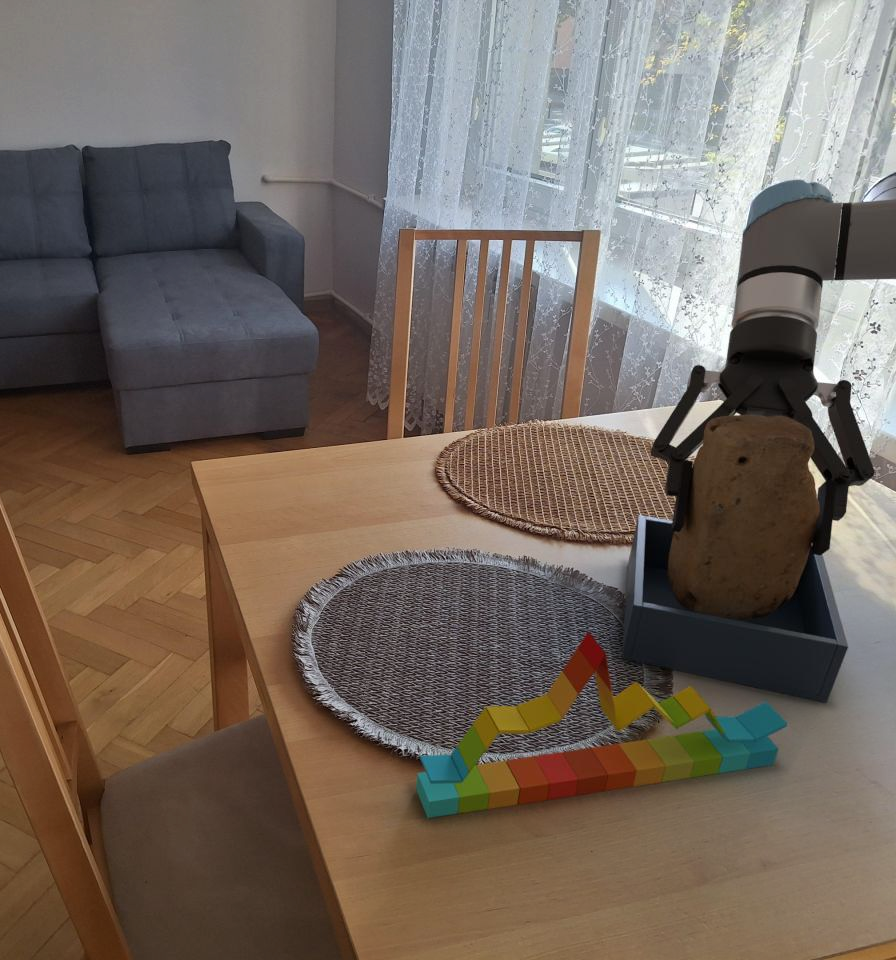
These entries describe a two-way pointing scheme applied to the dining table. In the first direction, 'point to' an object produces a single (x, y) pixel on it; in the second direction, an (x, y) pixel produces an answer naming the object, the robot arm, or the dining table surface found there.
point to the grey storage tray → (732, 627)
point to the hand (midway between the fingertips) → (746, 539)
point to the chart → (599, 768)
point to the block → (746, 518)
